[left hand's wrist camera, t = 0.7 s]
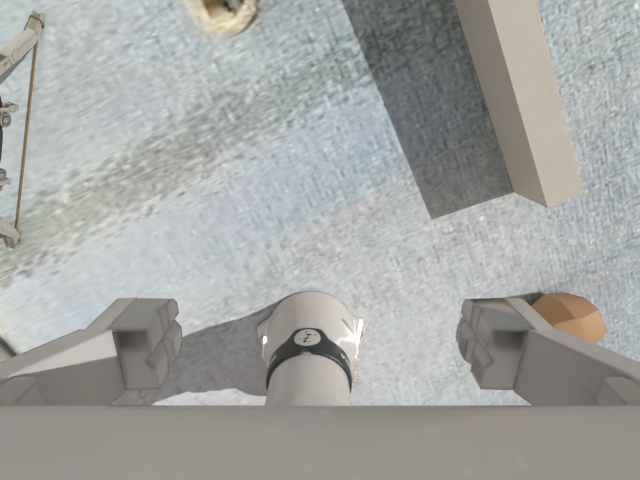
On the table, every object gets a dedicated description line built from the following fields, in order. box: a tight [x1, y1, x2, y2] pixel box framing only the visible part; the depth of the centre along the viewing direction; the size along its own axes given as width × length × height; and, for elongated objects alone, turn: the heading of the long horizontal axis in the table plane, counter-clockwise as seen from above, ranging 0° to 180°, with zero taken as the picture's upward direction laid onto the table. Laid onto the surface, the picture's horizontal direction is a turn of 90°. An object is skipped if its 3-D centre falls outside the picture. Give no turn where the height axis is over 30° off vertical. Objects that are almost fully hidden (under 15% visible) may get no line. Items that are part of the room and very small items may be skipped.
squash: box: [531, 292, 608, 344], centre depth 59 cm, size 11×20×9 cm, turn 21°
